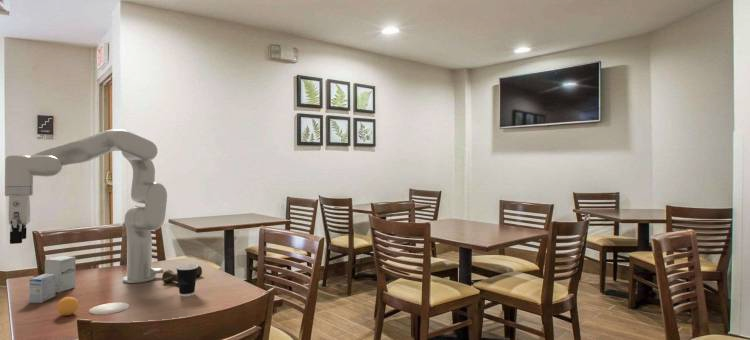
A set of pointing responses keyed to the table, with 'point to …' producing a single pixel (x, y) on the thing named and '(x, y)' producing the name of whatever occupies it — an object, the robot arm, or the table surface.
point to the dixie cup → (186, 279)
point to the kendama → (170, 276)
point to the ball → (67, 306)
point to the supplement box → (62, 272)
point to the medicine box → (42, 288)
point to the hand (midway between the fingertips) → (18, 241)
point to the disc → (109, 308)
